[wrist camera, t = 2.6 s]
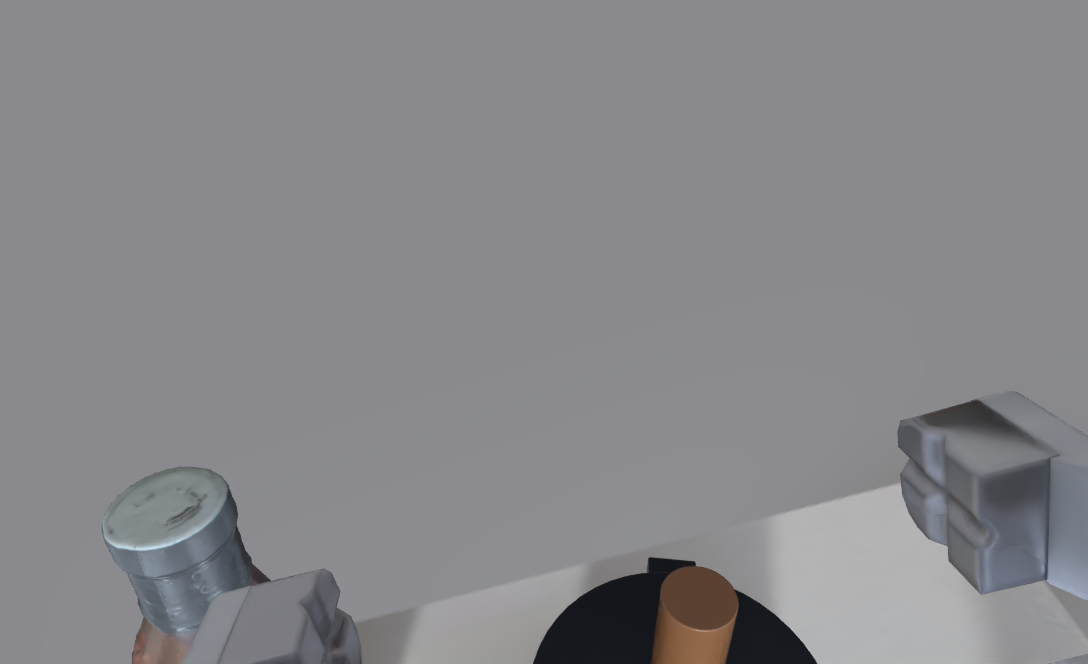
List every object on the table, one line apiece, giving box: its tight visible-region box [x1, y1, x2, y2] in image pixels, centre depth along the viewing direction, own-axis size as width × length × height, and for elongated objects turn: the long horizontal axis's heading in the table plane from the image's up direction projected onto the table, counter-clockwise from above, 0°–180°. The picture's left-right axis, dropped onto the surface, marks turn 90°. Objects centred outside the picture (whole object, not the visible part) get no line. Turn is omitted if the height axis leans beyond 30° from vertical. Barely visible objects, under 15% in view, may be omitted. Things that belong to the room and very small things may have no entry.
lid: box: [533, 566, 817, 664], centre depth 29 cm, size 13×13×8 cm
